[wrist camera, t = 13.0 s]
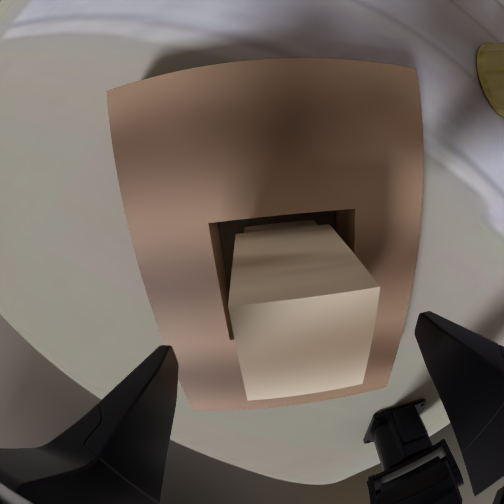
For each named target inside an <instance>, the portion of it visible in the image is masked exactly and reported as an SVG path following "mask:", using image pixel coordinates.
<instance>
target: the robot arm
mask: <svg viewBox="0 0 504 504" xmlns="http://www.w3.org/2000/svg"><path fill="white" fill-rule="evenodd" d="M415 337H416V339H417V342H418V345H419V347H420V350H421V353H422V356H423V358H424V361H425V364H426V367H427V369H428V371H429V374H430V376H431V378H432V380H433V382H434V384H435V387H436V389H437V391H438V393H439V396H440V398H441V400H442V403H443V405H444V408H445V410H446V412H447V415H448V417H449V420H450V422H451V425H452V428H453V430H454V433H455V436H456V438H457V441H458V444H459V447H460V450H461V452H462V456H463V459H464V462H465V465H466V469H467V472H468V475H469V479H470V482H471V486H472V489H473V493H474V495H475V496H476V495H478V494H480V493H481V492H483V491H484V490H485V489H487V488H489V487H490V486H491V485H493V484H494V483H496V482H497V481H498V480H500V479H501V478H502V477H504V347H503V346H501V345H498V344H497V343H495V342H493V341H491V340H489V339H487V338H485V337H483V336H481V335H479V334H477V333H475V332H472V331H470V330H468V329H466V328H464V327H462V326H460V325H458V324H456V323H454V322H452V321H449V320H447V319H445V318H443V317H441V316H439V315H437V314H435V313H432V312H430V311H427V312H423V313H420V314H419V317H418V320H417V324H416V328H415ZM178 370H179V365H178V360H177V358H176V355H175V353H174V350H173V348H172V346H170V345H161V346H159V347H158V348H157V349H156V350H155V351H154V352H153V353H151V354H150V355H149V356H148V357H147V358H146V359H145V360H144V361H143V362H142V363H141V364H140V365H139V366H138V367H136V368H135V369H134V370H133V371H132V372H131V373H130V374H129V375H128V376H127V377H126V378H125V379H124V380H123V381H121V382H120V383H119V384H118V385H117V386H116V387H115V388H114V389H113V390H112V391H111V392H110V393H109V394H108V395H106V396H105V397H104V398H103V399H102V400H101V401H100V402H99V404H97V405H96V406H95V407H94V408H92V409H91V410H90V411H89V412H88V413H87V414H86V415H84V416H83V417H82V418H81V419H80V420H78V421H77V422H76V423H75V424H73V425H72V426H71V427H69V428H68V429H67V430H65V431H64V432H63V433H61V434H60V435H59V436H57V437H56V438H54V439H53V440H52V441H50V442H49V443H47V444H45V445H43V446H40V447H36V448H18V449H3V448H2V449H1V448H0V504H160V499H161V492H162V485H163V478H164V472H165V465H166V459H167V453H168V446H169V441H170V435H171V429H172V424H173V418H174V413H175V407H176V399H177V384H178ZM425 404H426V401H425V399H422V400H420V401H417V402H414V403H411V404H408V405H405V406H402V407H399V408H395V409H392V410H389V411H385V412H382V413H378V414H376V415H374V416H373V418H372V421H371V423H370V426H369V428H368V430H367V433H366V435H365V437H364V440H363V441H364V443H365V444H366V443H370V442H374V443H375V446H376V449H377V453H378V456H379V459H380V462H381V465H382V468H383V472H381V473H379V474H376V475H372V476H370V477H368V479H369V480H368V481H367V485H368V488H369V495H370V504H462V497H461V495H460V492H459V489H458V488H459V487H460V486H462V485H463V484H464V482H463V479H462V476H461V473H460V470H459V468H458V466H457V464H456V462H455V459H454V457H453V455H452V453H451V451H450V449H449V447H448V445H447V443H446V441H445V439H442V440H441V441H440V442H439V443H437V444H435V445H434V446H433V445H432V442H431V440H430V438H429V436H428V433H427V430H426V428H425V426H424V423H423V421H422V419H421V417H420V413H421V411H422V410H423V408H424V406H425ZM442 455H444V457H443V458H441V459H440V458H439V457H440V456H442ZM493 504H504V486H503V487H502V488H500V489H499V490H498V491H497V494H496V496H495V499H494V501H493Z"/></svg>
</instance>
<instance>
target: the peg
mask: <svg viewBox="0 0 504 504" xmlns="http://www.w3.org/2000/svg"><path fill="white" fill-rule="evenodd" d="M379 293H380V286H379V284H378V283H377V282H376V280H375V279H374V278H373V277H372V275H371V274H370V273H369V272H368V270H367V269H366V268H365V267H364V265H363V264H362V263H361V262H360V260H359V259H358V258H357V257H356V255H355V254H354V253H353V252H352V251H351V249H350V248H349V247H348V246H347V245H346V243H345V242H344V241H343V240H342V239H341V237H340V236H339V235H338V234H337V233H336V232H335V230H334V229H333V228H332V227H331V226H330V225H329V224H325V225H317V224H316V222H315V221H314V220H305V221H295V222H285V223H276V224H267V225H257V226H248V227H244V233H240V234H236V236H235V245H234V254H233V263H232V273H231V282H230V292H229V301H228V309H229V314H230V319H231V324H232V329H233V334H234V339H235V344H236V349H237V354H238V359H239V363H240V368H241V373H242V378H243V382H244V387H245V391H246V396H247V400H248V401H250V400H262V399H273V398H282V397H290V396H298V395H305V394H312V393H318V392H324V391H330V390H335V389H340V388H345V387H350V386H355V385H360V384H363V380H364V376H365V371H366V367H367V362H368V358H369V353H370V348H371V343H372V338H373V332H374V326H375V320H376V314H377V307H378V300H379Z"/></svg>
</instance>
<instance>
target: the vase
mask: <svg viewBox="0 0 504 504" xmlns="http://www.w3.org/2000/svg"><path fill="white" fill-rule="evenodd" d="M477 71H478V76H479V79H480V83H481V86H482V89H483V91H484V93H485V95H486V97H487V99H488V101H489V103H490V104H491V106H492V107H493V108H494V110H495V111H496V112H497V113H498V114H499V115H501V116H502V117H504V43H501V44H496V43H484V44H482V45H481V46H480V48H479V50H478V52H477Z"/></svg>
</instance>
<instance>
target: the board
mask: <svg viewBox="0 0 504 504" xmlns="http://www.w3.org/2000/svg"><path fill="white" fill-rule="evenodd" d="M107 103H108V113H109V122H110V130H111V137H112V144H113V151H114V158H115V164H116V169H117V175H118V180H119V186H120V191H121V196H122V200H123V205H124V210H125V214H126V219H127V223H128V227H129V231H130V235H131V239H132V243H133V247H134V251H135V254H136V258H137V262H138V265H139V269H140V272H141V275H142V279H143V282H144V285H145V289H146V292H147V295H148V298H149V301H150V304H151V307H152V310H153V313H154V316H155V319H156V322H157V325H158V327H159V330H160V333H161V336H162V338H163V341H164V344H165V345H170V346H172V348H173V350H174V353H175V355H176V358H177V360H178V365H179V370H178V379H179V381H180V383H181V386H182V388H183V390H184V392H185V395H186V397H187V399H188V401H189V403H190V406H191V408H192V410H193V411H223V410H245V409H260V408H271V407H281V406H289V405H297V404H304V403H311V402H317V401H323V400H329V399H335V398H340V397H345V396H350V395H354V394H359V393H363V392H368V391H372V390H376V389H380V388H383V387H386V386H387V383H388V380H389V377H390V374H391V370H392V367H393V364H394V361H395V357H396V354H397V350H398V347H399V343H400V339H401V336H402V332H403V328H404V324H405V319H406V315H407V311H408V306H409V301H410V296H411V291H412V286H413V280H414V274H415V268H416V261H417V254H418V246H419V237H420V228H421V216H422V201H423V170H424V159H423V128H422V114H421V103H420V93H419V85H418V78H417V71H416V69H415V68H410V67H405V66H399V65H393V64H386V63H379V62H371V61H362V60H351V59H335V58H273V59H258V60H246V61H237V62H228V63H221V64H214V65H208V66H202V67H196V68H191V69H186V70H181V71H176V72H171V73H167V74H163V75H159V76H155V77H151V78H147V79H144V80H140V81H137V82H133V83H130V84H127V85H123V86H120V87H117V88H114V89H111V90H108V91H107ZM333 210H336V233H337V234H338V235H339V236H340V237H341V239H342V240H343V241H344V242H345V243H346V245H347V246H348V247H349V248H350V249H351V251H352V252H353V253H354V254H355V255H356V257H357V258H358V259H359V260H360V262H361V263H362V264H363V265H364V267H365V268H366V269H367V270H368V272H369V273H370V274H371V275H372V277H373V278H374V279H375V280H376V282H377V283H378V284H379V286H380V293H379V300H378V307H377V314H376V320H375V326H374V332H373V338H372V343H371V348H370V353H369V358H368V362H367V367H366V371H365V376H364V380H363V384H360V385H355V386H350V387H345V388H340V389H335V390H330V391H324V392H318V393H312V394H305V395H298V396H290V397H282V398H273V399H262V400H250V401H248V400H247V396H246V391H245V387H244V382H243V378H242V373H241V368H240V363H239V359H238V354H237V349H236V344H235V339H234V334H233V329H232V324H231V319H230V314H229V309H228V301H229V288H228V282H227V276H226V270H225V264H224V258H223V252H222V245H221V239H220V233H219V226H218V222H223V221H231V220H240V219H249V218H258V217H268V216H278V215H288V214H299V213H310V212H321V211H333Z"/></svg>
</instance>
